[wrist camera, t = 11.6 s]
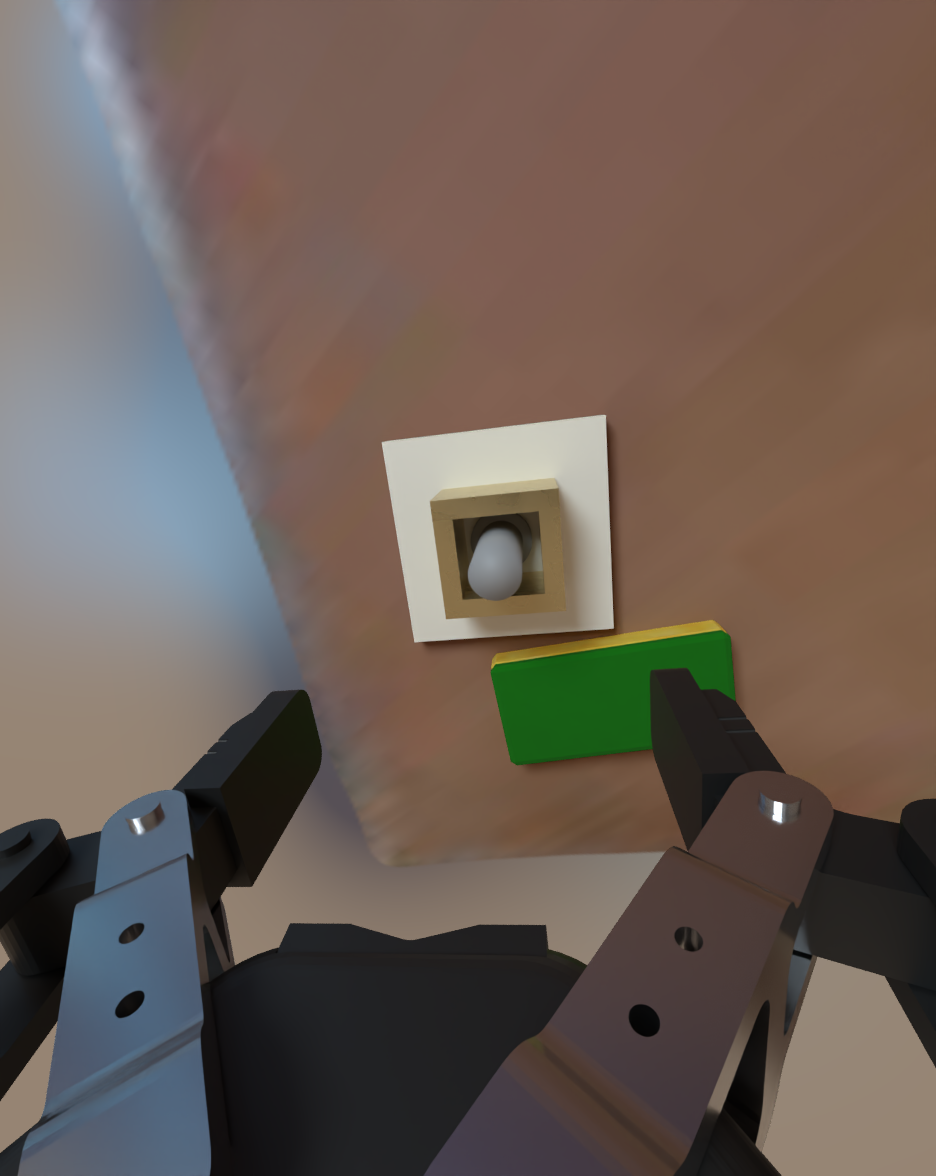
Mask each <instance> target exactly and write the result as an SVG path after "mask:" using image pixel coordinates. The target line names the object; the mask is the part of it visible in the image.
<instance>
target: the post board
mask: <svg viewBox="0 0 936 1176" xmlns="http://www.w3.org/2000/svg"><path fill="white" fill-rule="evenodd" d="M382 447H383V453H384V459H385V465H386V471H387V477H388V483H389V489H390V496H391V502H392V508H393V514H394V520H395V526H396V532H397V538H398V544H399V550H400V556H401V562H402V569H403V575H404V581H405V587H406V593H407V599H408V605H409V611H410V617H411V623H412V629H413V635H414V642H426V641H440V640H455V639H469V638H484V637H499V636H513V635H528V634H543V633H557V632H572V631H586V630H601V629H614V622H613V596H612V569H611V543H610V516H609V490H608V463H607V437H606V415H597V416H589V417H581V418H572V419H564V420H556V421H548V422H540V423H531V424H523V425H515V426H507V427H499V428H490V429H482V430H474V431H466V432H458V433H450V434H441V435H433V436H425V437H417V438H409V439H400V440H392V441H386V442H382ZM547 478H555V481H556V483H557V486H558V488H559V503H560V519H561V535H562V551H563V567H564V583H565V599H566V611H558V612H544V613H530V614H515V615H501V616H487V617H472V618H458V619H446V616H445V609H444V602H443V594H442V587H441V580H440V573H439V565H438V558H437V551H436V544H435V536H434V529H433V522H432V515H431V507H430V500H431V499H432V498H433V497H435V496H436V495H437V494H438V493H439V492H440V491H441V490H442V489H450V488H460V487H469V486H479V485H489V484H498V483H508V482H518V481H527V480H537V479H547ZM463 520H464V528H465V536H466V545H467V553H468V561H469V569H468V580H469V583H470V585H471V587H472V589H473V590H474V591H475V593H477V594H478V595H479V596H480V597H482V598H484V599H487V600H492V601H499V600H504V599H506V598H508V597H510V596H512V595H513V594H514V593H515V592H516V591H517V590H518V588H519V586H520V584H521V580H522V572H535V571H543V569H542V556H541V542H540V529H539V516H538V511H537V512H526V513H516V514H505V515H495V516H484V517H474V518H463Z"/></svg>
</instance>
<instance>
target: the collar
mask: <svg viewBox="0 0 936 1176" xmlns="http://www.w3.org/2000/svg"><path fill="white" fill-rule="evenodd" d="M430 507H431V515H432V522H433V529H434V536H435V544H436V551H437V558H438V565H439V573H440V580H441V587H442V594H443V602H444V609H445V616H446V619H458V618H472V617H487V616H501V615H515V614H530V613H544V612H558V611H566V599H565V583H564V567H563V551H562V535H561V519H560V503H559V488H558V486H557V483H556V481H555V478H547V479H537V480H527V481H518V482H508V483H498V484H489V485H479V486H469V487H460V488H450V489H442V490H441V491H440V492H439V493H438V494H437V495H436V496H435V497H433V498H432V499H431V500H430ZM537 511H538V516H539V529H540V542H541V556H542V569H543V571H535V572H522V580H521V584H520V586H519V588H518V590H517V591H516V592H515V593H514V594H513V595H512V596H510V597H508V598H506V599H504V600H499V601H492V600H487V599H484V598H482V597H480V596H479V595H478V594H477V593H475V591H474V590H473V589H472V587H471V585H470V583H469V580H468V569H469V561H468V553H467V545H466V536H465V528H464V520H463V518H474V517H484V516H495V515H505V514H516V513H526V512H537Z"/></svg>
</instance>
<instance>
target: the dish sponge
mask: <svg viewBox="0 0 936 1176" xmlns="http://www.w3.org/2000/svg"><path fill="white" fill-rule="evenodd" d="M673 668H687V669H688V670H689V671H690V673H691V674H692V676H693V678H694V679H695V681H696V683H697V684H698V686H699V688H700V689H701V690H705V689H717V690H719V691H720V692H722V693H723V694H725V695H726V696H728V697H730V698H731V699H733V700H734V701H736V700H735V688H734V675H733V663H732V650H731V637H730V636H729V635H728V634H727V632H726V631H725V630H724V629H723V628H722V627H721V626H720V625H719V624H718V623H717V622H715V621H714V620H709V621H702V622H696V623H690V624H683V625H677V626H670V627H664V628H657V629H651V630H645V631H638V632H632V633H625V634H619V635H612V636H606V637H600V638H593V639H587V640H580V641H574V642H567V643H561V644H555V645H548V646H542V647H535V648H529V649H523V650H516V651H510V652H503V653H497V654H496V655H495V656H494V658H493V659H492V666H491V677H492V681H493V685H494V690H495V694H496V699H497V703H498V707H499V712H500V716H501V720H502V725H503V729H504V733H505V738H506V742H507V747H508V751H509V755H510V760H511V762H513V763H514V764H516V765H523V764H532V763H540V762H548V761H557V760H565V759H573V758H582V757H590V756H598V755H607V754H615V753H623V752H632V751H640V750H648V749H653V747H652V740H651V716H650V673H651V670H656V669H673Z"/></svg>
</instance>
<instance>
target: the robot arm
mask: <svg viewBox="0 0 936 1176" xmlns="http://www.w3.org/2000/svg"><path fill="white" fill-rule="evenodd" d="M650 716H651V740H652V747H653V753H654V757H655V760H656V763H657V766H658V769H659V772H660V775H661V777H662V780H663V783H664V786H665V789H666V791H667V794H668V797H669V800H670V803H671V805H672V808H673V811H674V814H675V817H676V819H677V822H678V825H679V828H680V831H681V834H682V836H683V839H684V842H685V845H686V848H687V850H688V852H687V851H684V850H682V849H680V848H678V847H675V846H673V847H671V848H669V849H668V850H667V851H666V852H665V853H664V855H663V856H662V858H661V859H660V861H659V862H658V863H657V865H656V866H655V868H654V869H653V871H652V872H651V874H650V875H649V877H648V878H647V879H646V881H645V882H644V884H643V885H642V887H641V888H640V890H639V891H638V893H637V894H636V896H635V897H634V898H633V900H632V901H631V903H630V904H629V906H628V907H627V909H626V910H625V912H624V913H623V915H622V916H621V917H620V919H619V920H618V922H617V923H616V925H615V926H614V928H613V929H612V931H611V932H610V933H609V935H608V936H607V938H606V939H605V941H604V942H603V944H602V945H601V947H600V948H599V950H598V951H597V952H596V954H595V956H594V957H593V958H592V960H591V961H590V963H589V964H588V965H586V964H584V963H582V962H580V961H579V960H577V959H574V958H572V957H570V956H567V955H565V954H563V953H560V952H556V951H553V950H549V949H548V941H547V931H546V925H476V926H472V927H468V928H464V929H459V930H455V931H451V932H447V933H443V934H438V935H434V936H430V937H426V938H421V939H417V940H403V939H400V938H397V937H393V936H390V935H387V934H383V933H380V932H376V931H372V930H369V929H366V928H362V927H359V926H355V925H352V924H304V923H303V924H301V923H299V924H298V923H297V924H296V923H293V924H292V923H291V924H290V925H289V927H288V929H287V931H286V934H285V936H284V938H283V940H282V942H281V945H280V947H279V948H275V949H272V950H269V951H266V952H263V953H260V954H257V955H255V956H253V957H251V958H249V959H247V960H244V961H242V962H241V963H239V964H237V965H235V962H234V957H233V951H232V945H231V940H230V935H229V929H228V923H227V918H226V913H225V908H224V905H223V902H222V900H221V895H222V893H223V892H224V890H225V889H226V887H252V886H253V884H254V882H255V880H256V879H257V877H258V875H259V874H260V872H261V870H262V868H263V867H264V865H265V863H266V861H267V860H268V858H269V856H270V854H271V853H272V851H273V849H274V847H275V846H276V844H277V842H278V841H279V839H280V837H281V835H282V834H283V832H284V830H285V828H286V827H287V825H288V823H289V822H290V820H291V818H292V816H293V815H294V813H295V811H296V809H297V807H298V806H299V804H300V802H301V801H302V799H303V797H304V796H305V794H306V792H307V790H308V789H309V787H310V785H311V783H312V782H313V780H314V778H315V776H316V775H317V773H318V771H319V768H320V764H321V757H322V749H321V743H320V739H319V735H318V731H317V727H316V723H315V718H314V714H313V710H312V706H311V702H310V699H309V696H308V694H307V692H306V691H304V690H288V691H274V692H271V693H270V694H269V695H268V696H267V697H266V698H265V699H264V700H263V701H262V702H261V704H260V705H259V706H258V707H257V708H256V709H255V710H254V711H253V713H250V714H249V715H247V716H245V717H244V718H242V719H241V720H239V721H238V722H236V723H235V724H233V725H232V726H231V727H230V728H229V729H228V730H227V731H226V732H225V733H224V734H223V735H222V736H221V737H220V739H219V741H218V742H217V743H215V744H214V745H213V746H212V747H211V748H210V749H209V750H208V754H205V755H204V756H203V757H202V758H201V759H200V760H199V761H198V762H197V763H196V764H195V765H194V766H193V768H192V769H191V770H190V771H189V772H188V773H187V774H186V775H185V776H184V777H183V778H182V779H181V780H180V781H179V783H178V784H177V785H176V786H175V787H174V788H173V789H172V790H163V791H158V792H154V793H151V794H147V795H145V796H142V797H140V798H138V799H136V800H134V801H132V802H130V803H128V804H127V805H125V806H124V807H122V808H121V809H119V810H118V811H117V812H116V813H115V814H113V815H112V816H111V817H110V818H109V819H108V821H107V822H106V823H105V825H104V827H103V829H102V831H99V832H95V833H91V834H88V835H84V836H79V837H75V838H71V839H67V840H66V838H65V836H64V834H63V831H62V829H61V827H60V825H59V823H58V822H57V821H56V820H53V819H38V820H34V821H30V822H26V823H23V824H21V825H18V826H15V827H13V828H11V829H9V830H6V831H5V832H3V833H1V834H0V942H1V944H2V946H3V947H4V949H5V951H6V953H7V955H8V957H9V959H10V960H9V961H8V962H7V964H6V965H5V966H4V967H3V968H2V969H1V970H0V1101H1V1099H2V1098H3V1097H4V1095H5V1093H6V1092H7V1091H8V1090H9V1088H10V1087H11V1085H12V1084H13V1082H14V1081H15V1080H16V1078H17V1077H18V1076H19V1074H20V1073H21V1071H22V1070H23V1069H24V1067H25V1066H26V1064H27V1063H28V1061H29V1060H30V1059H31V1057H32V1056H33V1055H34V1053H35V1052H36V1050H37V1049H38V1048H39V1046H40V1045H41V1043H42V1042H43V1041H44V1039H45V1038H46V1036H47V1035H48V1034H49V1032H50V1031H51V1029H52V1028H53V1026H54V1025H55V1024H56V1022H57V1021H58V1022H57V1029H56V1036H55V1043H54V1049H53V1055H52V1062H51V1069H50V1075H49V1082H48V1088H47V1095H46V1102H45V1107H44V1111H43V1114H42V1117H41V1119H40V1120H39V1122H38V1123H37V1124H35V1125H34V1126H33V1127H32V1128H30V1129H29V1130H28V1131H27V1132H25V1133H24V1134H23V1135H22V1136H21V1137H20V1138H18V1139H17V1140H16V1141H15V1142H13V1143H12V1144H11V1145H10V1146H8V1147H7V1148H6V1149H5V1150H3V1151H2V1152H1V1153H0V1176H781V1174H780V1173H779V1172H778V1171H777V1170H776V1169H775V1167H774V1166H773V1165H772V1164H771V1163H770V1162H769V1161H768V1159H767V1158H766V1157H765V1156H764V1155H763V1154H762V1149H763V1146H764V1143H765V1139H766V1136H767V1133H768V1129H769V1126H770V1122H771V1118H772V1115H773V1111H774V1107H775V1102H776V1098H777V1093H778V1088H779V1083H780V1077H781V1073H782V1068H783V1064H784V1060H785V1057H786V1053H787V1050H788V1047H789V1044H790V1041H791V1038H792V1035H793V1031H794V1028H795V1025H796V1022H797V1019H798V1016H799V1013H800V1010H801V1006H802V1003H803V1000H804V997H805V994H806V991H807V988H808V985H809V981H810V978H811V975H812V972H813V969H814V966H815V963H816V960H817V956H818V957H821V958H824V959H828V960H831V961H835V962H838V963H842V964H845V965H848V966H852V967H855V968H859V969H862V970H865V971H869V972H873V973H876V974H879V975H882V976H885V977H886V980H887V981H888V983H889V985H890V987H891V988H892V990H893V992H894V994H895V996H896V997H897V999H898V1001H899V1003H900V1005H901V1006H902V1008H903V1010H904V1012H905V1014H906V1015H907V1017H908V1019H909V1021H910V1023H911V1024H912V1026H913V1028H914V1030H915V1032H916V1033H917V1035H918V1037H919V1039H920V1040H921V1042H922V1044H923V1046H924V1048H925V1049H926V1051H927V1053H928V1055H929V1056H930V1058H931V1060H932V1062H933V1064H934V1065H935V1067H936V799H923V800H917V801H914V802H911V803H909V804H908V805H906V806H905V808H904V809H903V810H902V814H901V819H900V823H894V822H889V821H883V820H878V819H873V818H867V817H862V816H857V815H852V814H848V813H844V812H841V811H838V810H835V809H833V807H832V805H831V802H830V801H829V800H828V798H827V797H826V796H825V795H824V794H823V793H822V792H821V791H820V790H819V789H817V788H816V787H815V786H813V785H811V784H810V783H808V782H806V781H804V780H802V779H800V778H797V777H795V776H792V775H788V774H786V773H785V771H784V770H783V768H782V767H781V766H780V764H779V763H778V761H777V760H776V758H775V757H774V756H773V754H772V753H771V751H770V750H769V748H768V747H767V746H766V744H765V743H764V741H763V740H762V738H761V737H760V736H759V734H758V733H757V732H755V728H754V727H753V726H752V724H751V723H750V721H749V720H748V719H746V716H745V714H744V713H743V711H742V710H741V708H740V707H739V706H738V704H737V703H736V701H734V700H733V699H731V698H730V697H728V696H726V695H725V694H723V693H722V692H720V691H719V690H717V689H705V690H701V689H700V688H699V686H698V684H697V683H696V681H695V679H694V678H693V676H692V674H691V673H690V671H689V670H688V669H687V668H673V669H656V670H651V673H650Z"/></svg>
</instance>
